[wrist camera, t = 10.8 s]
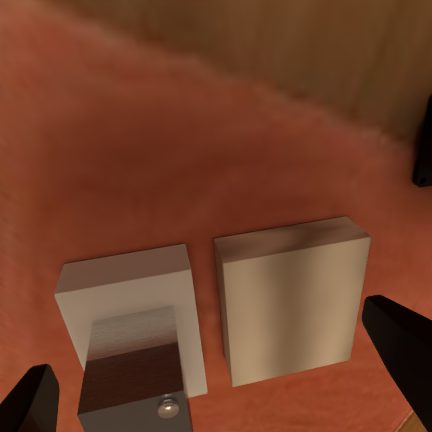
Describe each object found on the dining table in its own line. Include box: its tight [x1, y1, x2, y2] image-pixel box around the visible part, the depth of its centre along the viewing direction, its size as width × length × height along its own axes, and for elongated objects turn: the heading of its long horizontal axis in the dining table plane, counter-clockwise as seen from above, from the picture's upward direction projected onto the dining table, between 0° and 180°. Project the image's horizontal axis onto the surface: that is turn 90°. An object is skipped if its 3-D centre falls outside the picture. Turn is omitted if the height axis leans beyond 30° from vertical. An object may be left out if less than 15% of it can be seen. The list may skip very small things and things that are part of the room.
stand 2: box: [214, 216, 371, 387], centre depth 26 cm, size 10×12×3 cm
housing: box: [77, 305, 193, 432], centre depth 20 cm, size 5×7×6 cm
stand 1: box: [54, 244, 208, 397], centre depth 24 cm, size 8×12×3 cm, turn 5°
